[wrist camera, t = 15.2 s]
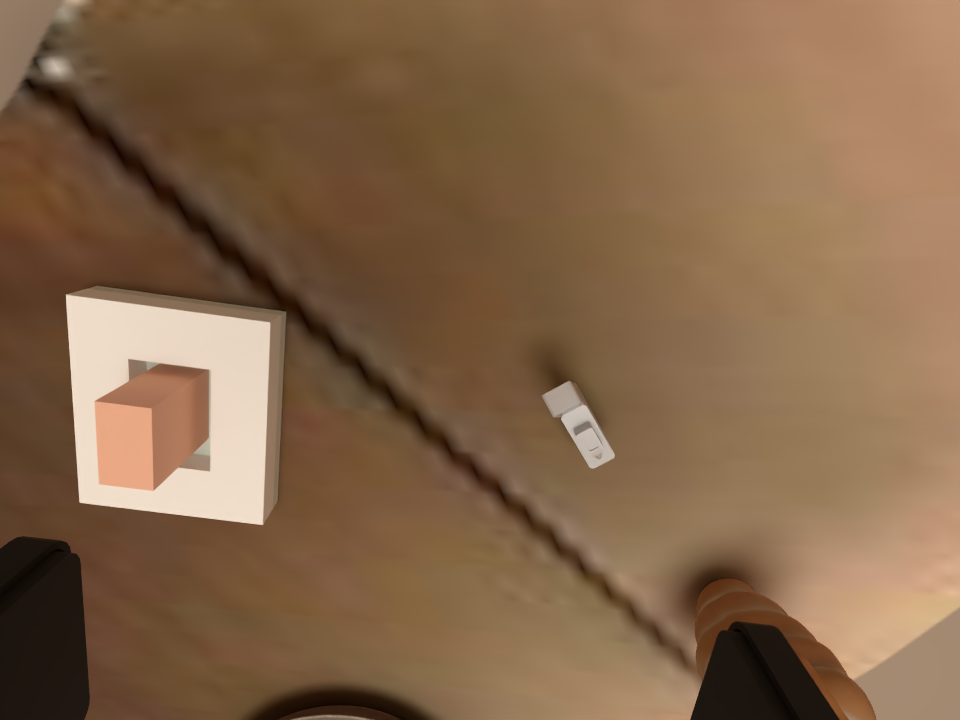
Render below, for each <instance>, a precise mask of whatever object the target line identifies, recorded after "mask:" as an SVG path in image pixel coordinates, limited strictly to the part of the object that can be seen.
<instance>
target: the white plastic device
mask: <svg viewBox="0 0 960 720" xmlns="http://www.w3.org/2000/svg"><path fill="white" fill-rule="evenodd" d="M542 398H543V399H544V401H545V403H546V405H547V407H548V409H549V410H550V412H551V414H552V416H553V417H560V418H561V420H562V422H563V423H564V425H565V427H566V428H567V430H568V432H569V433H570V435H571V437H572V439H573V440H574V442H575V444H576V445H577V447H578V449H579V450H580V452H581V454H582V455H583V457H584V459H585V460H586V462H587V464H588V465H589V467H590V468H593V469H594V468H596V467H598V466H600V465H602V464H604V463H605V462H607V461H609V460H611V459H613V458H614V456H615V454H614V452H613V450H612V448H611V446H610V444H609V442H608V440H607V438H606V436H605V434H604V432H603V430H602V428H601V426H600V424H599V423H598V421H597V419H596V417H595V416H594V414H593V412H592V410H591V409H590V407H589V405H588V403H587V402H586V400H585V398H584V397H583V395H582V393H581V391H580V390H579V388H578V386H577V384H576V383H575V382H571V381H568V382H566V383H564V384H562V385H560V386H558V387H557V388H555V389H553V390H551V391H549V392H547V393H546V394H544V395H542Z"/></svg>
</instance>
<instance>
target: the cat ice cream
mask: <svg viewBox="0 0 960 720" xmlns="http://www.w3.org/2000/svg"><path fill="white" fill-rule="evenodd" d="M696 618H697V620H696V623H695V638H696V641H697V644H698V646H697V650H696V663H697V668H698V672H699V675H700V676H701V678H702V680H703V679H704V675H705V672H706V669H707V666H708V663H709V660H710V657H711V653H712V650H713V647H714V644H715V641H716V638H717V636H718V633H719V632H720V631H721V630H728V628H729V626H730V625H731V624H732V623H733V622H736V621H740V622H748V623H757V624H765V625H773V626H775V627H777V628H778V629H779V630H780V631H781V632H782V634H783V635H784V637H785V638H786V640H787V641H788V643H789V644H790V646H791V647H792V649H793V650H794V652H795V653H796V655H797V656H798V658H799V659H800V661H801V662H802V664H803V665H804V667H805V668H806V670H807V671H808V673H809V674H810V676H811V677H812V679H813V680H814V682H815V683H816V685H817V686H818V688H819V689H820V691H821V692H822V694H823V695H824V697H825V698H826V700H827V701H828V703H829V704H830V706H831V707H832V709H833V710H834V712H835V713H836V715H837V716H838V718H839V719H840V720H876V716H875V713H874V710H873V707H872V705H871V703H870V701H869V699H868V698H867V696H866V694H865V693H864V692H863V690H862V689H861V688H860V687H859V686H858V685H857V684H856V683H855V682H854V681H853V680H852V679H851V678H849V677H848V675H847V673H846V671H845V670H844V668H843V667H842V665H841V663H840V662H839V661H838V659H837V658H836V656H835V655H834V654H833V653H832V652H831V651H830V650H829V649H828V648H827V647H826V646H824V645H822V644H821V643H819V642H817V640H816V639H815V637H814V636H813V635H812V634H811V633H810V632H809V631H808V630H807V629H806V628H805V627H804V626H803V625H802V624H801V623H800V622H798V621H797V620H795V619H793V618H792V617H790V616H788V615H787V613H786V612H785V611H784V610H783V609H782V608H781V607H780V606H779V605H778V604H776V603H775V602H773V601H772V600H770V599H768V598H766V597H764V596H761V595H758V594H756V593H755V592H754V590H753V589H752V588H751V587H750V586H749V585H748V584H747V583H745V582H743V581H740V580H736V579H720V580H717V581H714V582H712V583H710V584H708V585H707V586H706V587H705V588H704V589H703V590H702V591H701V593H700V594H699V597H698V600H697V603H696Z"/></svg>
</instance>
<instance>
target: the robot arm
mask: <svg viewBox="0 0 960 720" xmlns="http://www.w3.org/2000/svg"><path fill="white" fill-rule="evenodd" d="M89 700H90V695H89V681H88V666H87V651H86V637H85V622H84V607H83V593H82V578H81V563H80V558H79V557H78V555H77V554H74V553H71V550H70V546H69V545H68V544H67V543H66V542H64V541H59V540H50V539H42V538H34V537H25V536H22V537H17V538H15V539H13V540H12V541H10V542H9V543H7V544H6V545H5V546H3V547H2V548H1V549H0V720H84V719H85V716H86V714H87V711H88V707H89ZM690 720H840V719H839V718H838V716H837V715H836V713H835V712H834V710H833V709H832V707H831V706H830V704H829V703H828V701H827V700H826V698H825V697H824V695H823V694H822V692H821V691H820V689H819V688H818V686H817V685H816V683H815V682H814V680H813V679H812V677H811V676H810V674H809V673H808V671H807V670H806V668H805V667H804V665H803V664H802V662H801V661H800V659H799V658H798V656H797V655H796V653H795V652H794V650H793V649H792V647H791V646H790V644H789V643H788V641H787V640H786V638H785V637H784V635H783V634H782V632H781V631H780V630H779V629H778V628H777V627H775V626H773V625H765V624H757V623H748V622H740V621H736V622H733V623H732V624H731V625H730V626H729V628H728V630H721V631H720V632H719V633H718V636H717V638H716V641H715V644H714V647H713V650H712V653H711V657H710V660H709V663H708V666H707V669H706V672H705V675H704V679H703V682H702V685H701V688H700V691H699V694H698V697H697V700H696V704H695V707H694V710H693V713H692V716H691V719H690Z"/></svg>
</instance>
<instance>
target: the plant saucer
mask: <svg viewBox="0 0 960 720" xmlns="http://www.w3.org/2000/svg"><path fill="white" fill-rule="evenodd" d="M277 720H401V719H399V718H397V717H395V716H392V715H390V714H387V713H384V712H381V711H378V710H374V709H370V708H365V707H359V706H349V705H332V706H321V707H315V708H310V709H306V710H302V711H298V712H295V713H292V714H289V715H287V716H284V717H282V718H280V719H277Z"/></svg>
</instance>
